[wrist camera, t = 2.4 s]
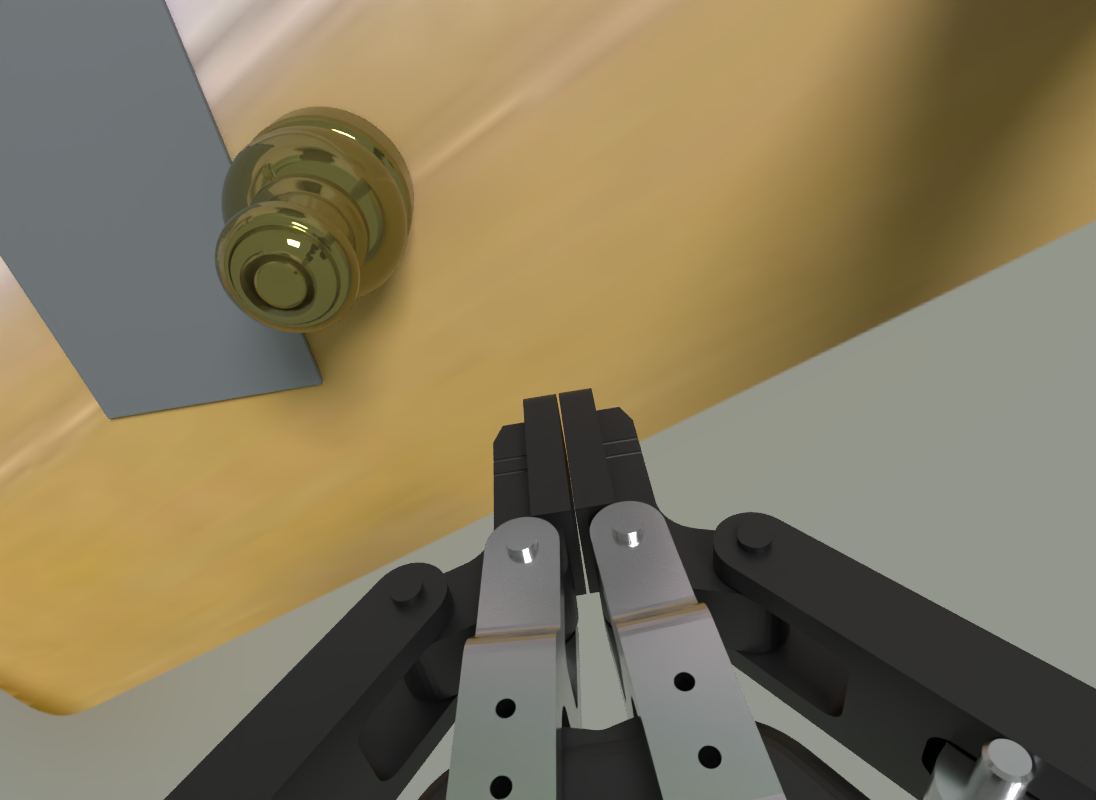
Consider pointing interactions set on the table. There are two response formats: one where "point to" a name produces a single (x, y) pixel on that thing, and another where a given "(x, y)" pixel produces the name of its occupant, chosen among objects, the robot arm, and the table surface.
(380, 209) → the brass door knob
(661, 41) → the table surface
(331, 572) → the table surface
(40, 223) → the mat
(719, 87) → the table surface
